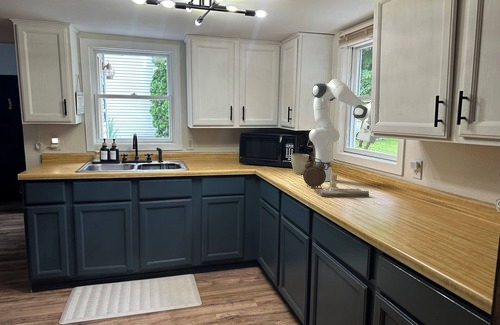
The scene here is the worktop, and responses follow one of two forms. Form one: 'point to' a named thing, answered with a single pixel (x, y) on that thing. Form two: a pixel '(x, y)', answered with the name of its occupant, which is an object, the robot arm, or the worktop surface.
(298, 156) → the plant pot
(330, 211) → the worktop surface
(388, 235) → the worktop surface
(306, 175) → the alarm clock
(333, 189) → the stacked beige blocks
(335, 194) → the walnut board
